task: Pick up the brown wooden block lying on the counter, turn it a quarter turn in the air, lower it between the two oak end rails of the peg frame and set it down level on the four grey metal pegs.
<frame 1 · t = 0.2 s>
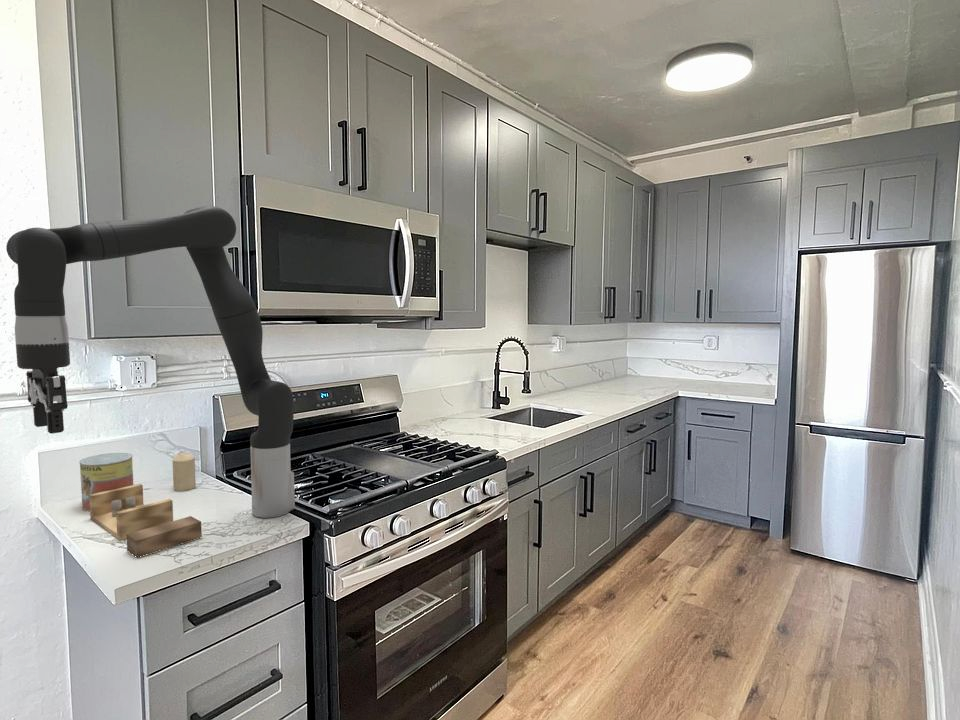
hand: (48, 429, 100), 28 cm above the worktop, fingers open, 8 cm apart
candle: (184, 488, 154), on the worktop
canned food: (108, 504, 141), on the worktop
brown wooden block: (165, 545, 117), on the worktop
peg frame: (131, 522, 129), on the worktop
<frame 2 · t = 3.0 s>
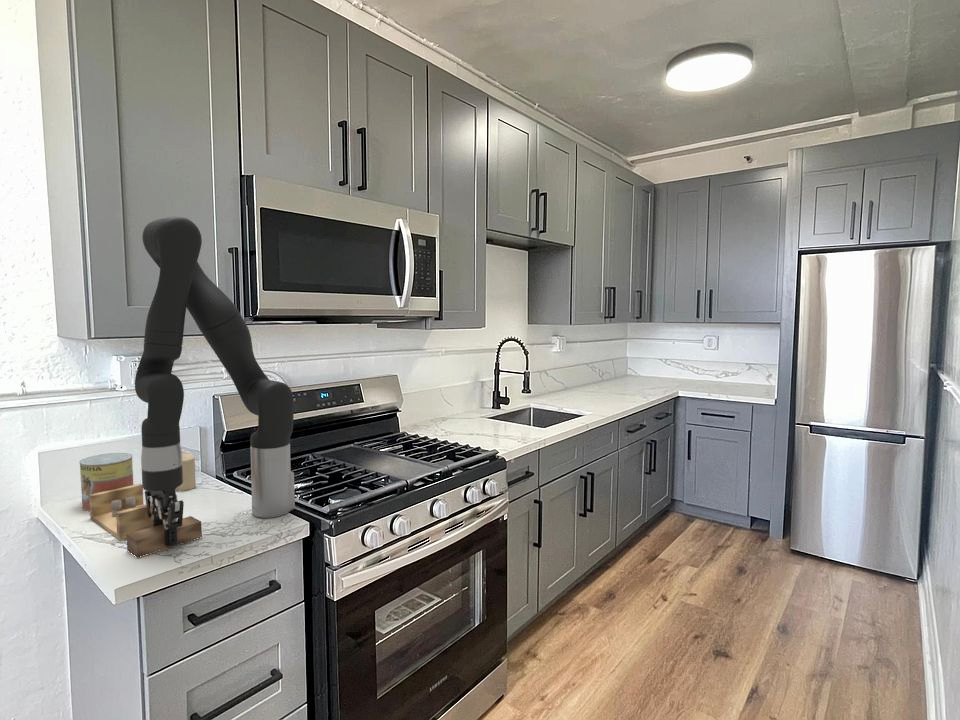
hand: (165, 541, 117), 1 cm above the worktop, fingers closed on brown wooden block, 5 cm apart
brown wooden block: (165, 545, 117), on the worktop, touching gripper
everything else where it was.
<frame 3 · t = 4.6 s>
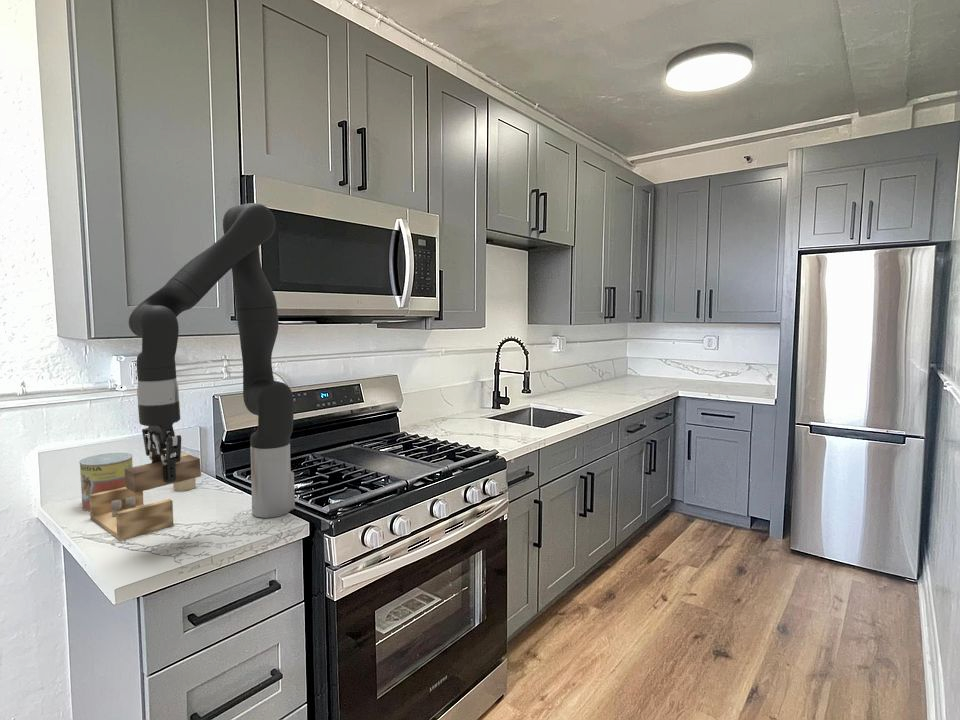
hand: (164, 478, 116), 14 cm above the worktop, fingers closed on brown wooden block, 5 cm apart
brown wooden block: (164, 481, 116), point 14 cm above the worktop, touching gripper
everything else where it was.
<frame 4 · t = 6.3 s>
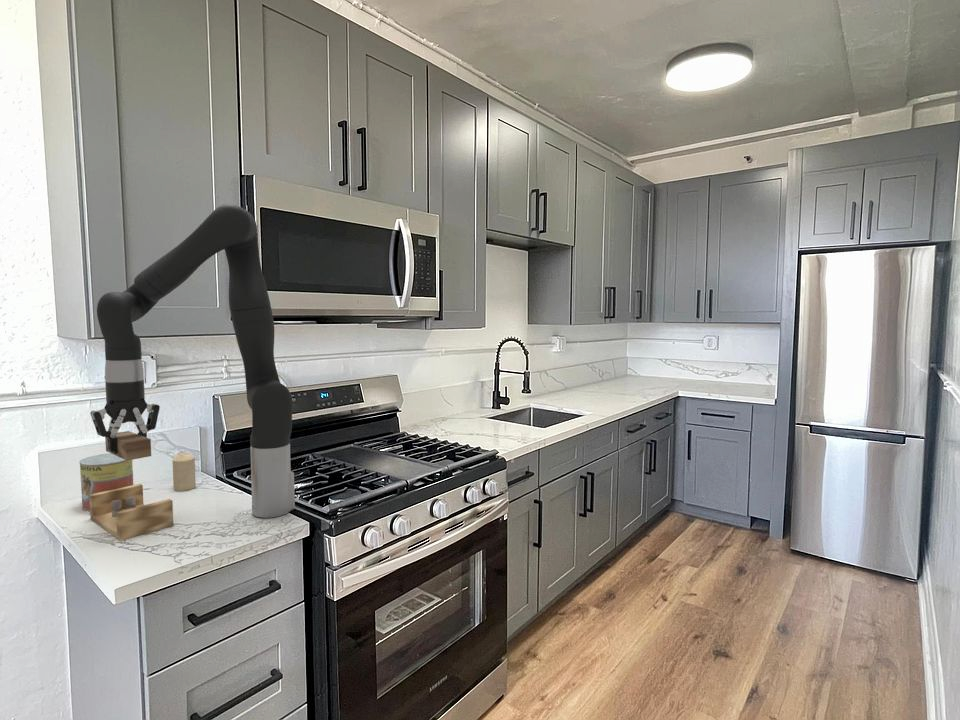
hand: (128, 450, 128), 17 cm above the worktop, fingers closed on brown wooden block, 5 cm apart
brown wooden block: (128, 453, 128), point 17 cm above the worktop, touching gripper
everything else where it was.
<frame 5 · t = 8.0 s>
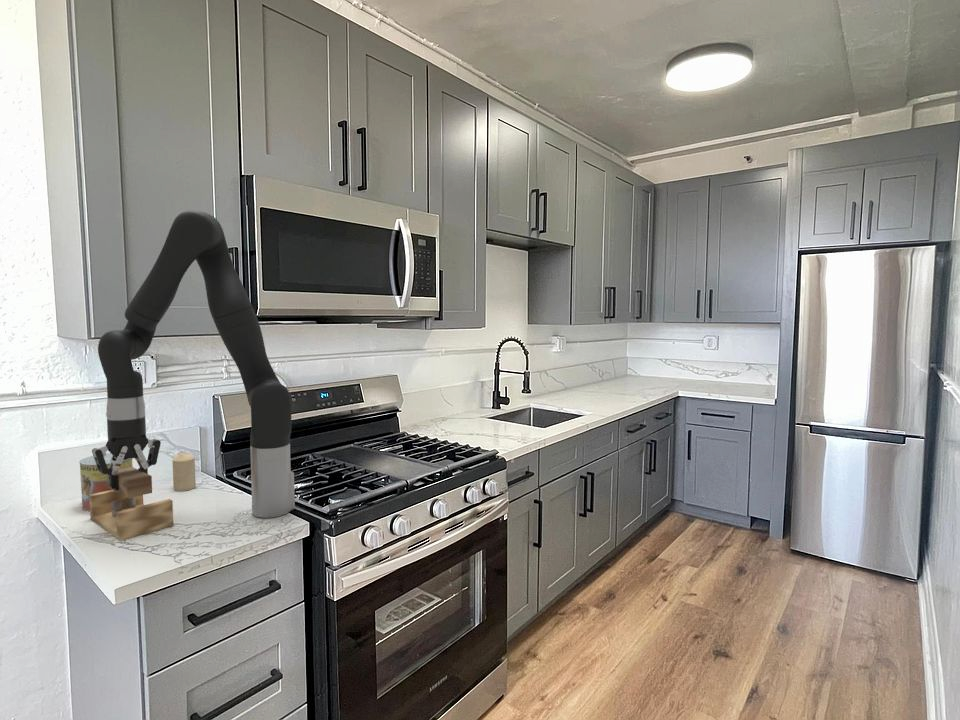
hand: (129, 486, 128), 9 cm above the worktop, fingers closed on brown wooden block, 5 cm apart
brown wooden block: (129, 489, 128), point 8 cm above the worktop, touching gripper
everything else where it was.
when the fingers open (6 cm above the worktop, at t = 9.5 s): brown wooden block stays where it is, resting on peg frame.
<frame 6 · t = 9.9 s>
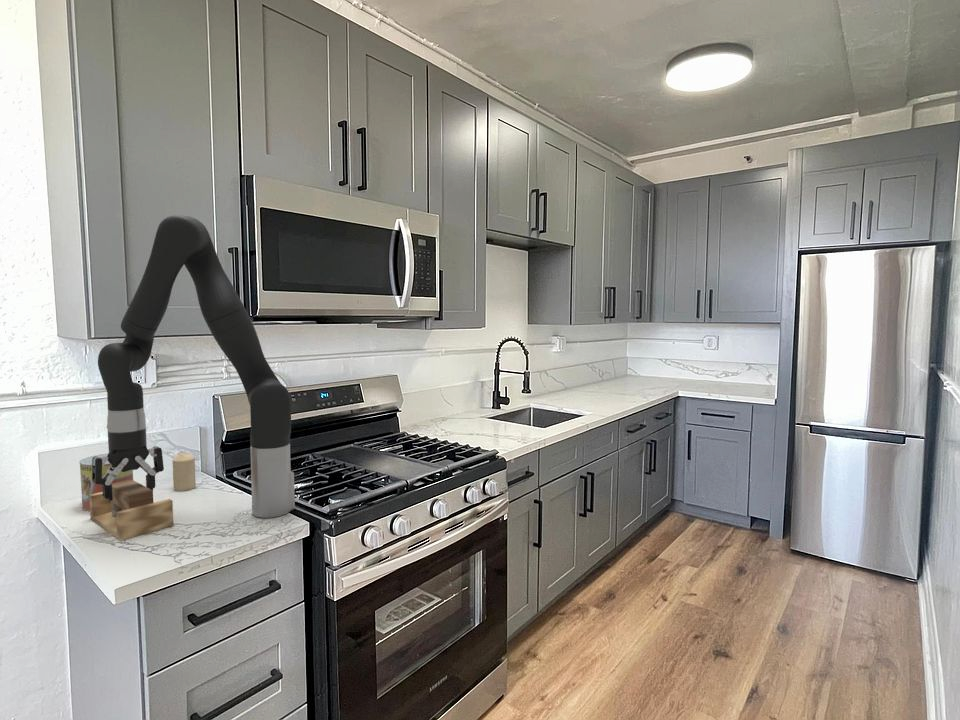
hand: (130, 495, 129), 7 cm above the worktop, fingers open, 8 cm apart
brown wooden block: (130, 503, 129), point 4 cm above the worktop, touching peg frame
everything else where it was.
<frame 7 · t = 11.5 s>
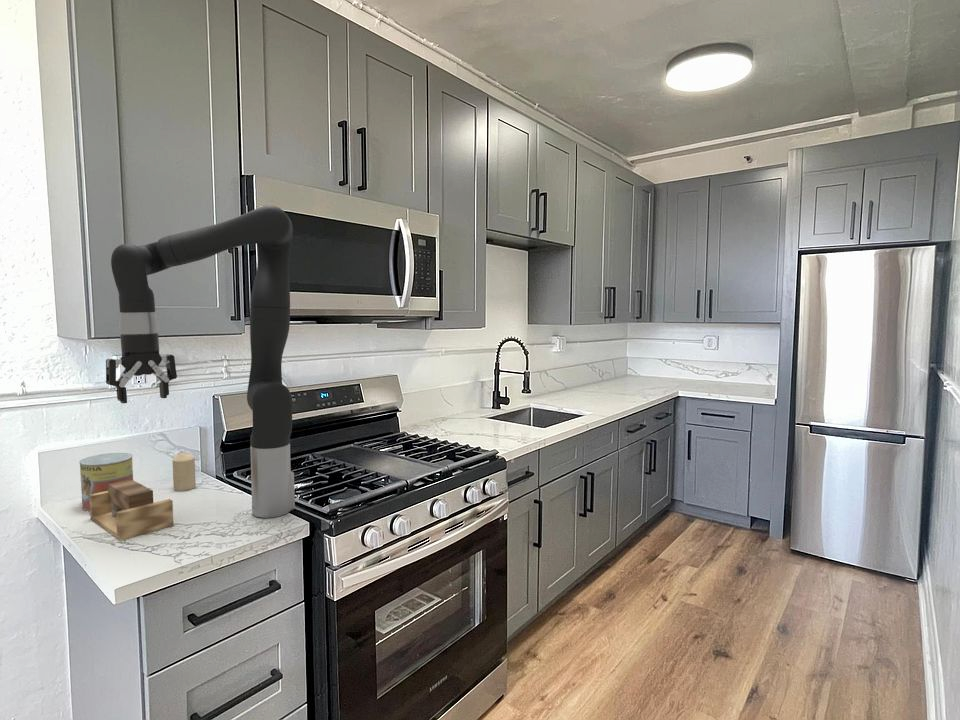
hand: (144, 400, 129), 29 cm above the worktop, fingers open, 8 cm apart
nothing on the worktop moved.
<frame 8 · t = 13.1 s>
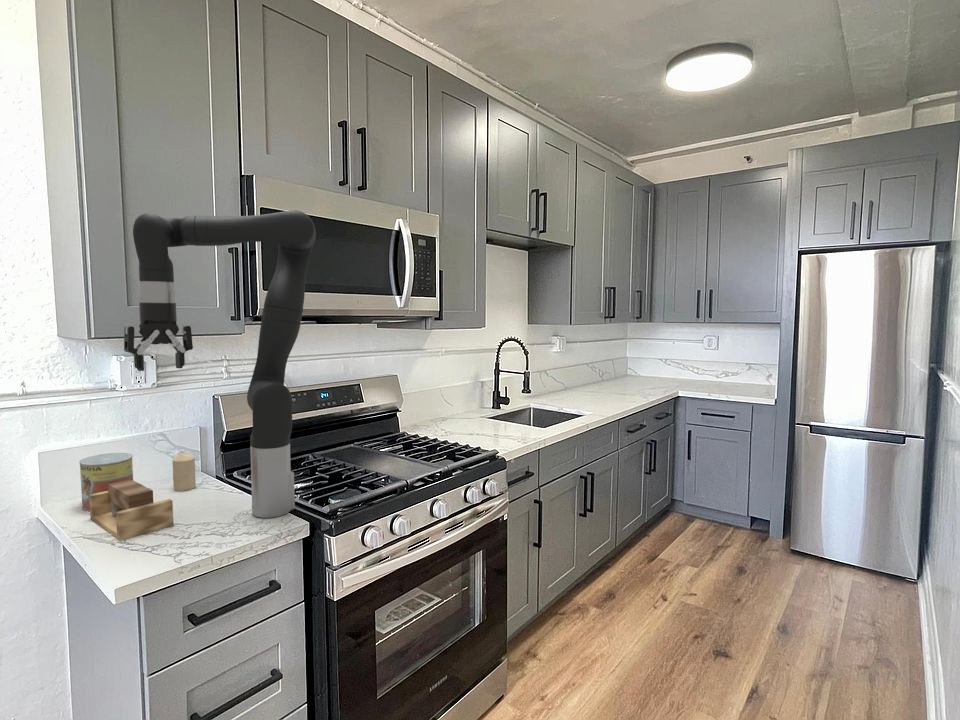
hand: (160, 369, 130), 36 cm above the worktop, fingers open, 8 cm apart
nothing on the worktop moved.
at the end: brown wooden block 0.0 cm off-centre on the peg frame, point 4.5 cm above the peg frame's base; brown wooden block tilted 0°; the gripper is holding nothing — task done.
